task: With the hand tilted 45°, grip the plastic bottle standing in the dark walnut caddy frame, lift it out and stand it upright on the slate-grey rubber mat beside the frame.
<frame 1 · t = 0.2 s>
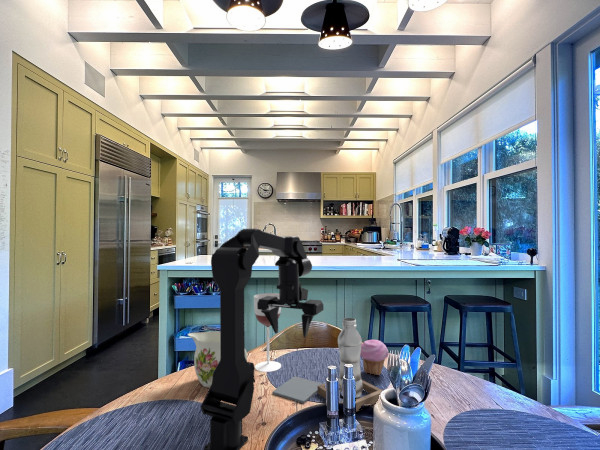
hand: (290, 335, 89), 14 cm above the table, tool pointing down, fingers open, 9 cm apart
caddy frame: (350, 396, 82), on the table
cupcake: (374, 373, 96), on the table
slate mat: (298, 389, 86), on the table
pitcher: (217, 383, 91), on the table
wineglass: (268, 366, 102), on the table
plastic bottle: (350, 397, 82), resting in caddy frame
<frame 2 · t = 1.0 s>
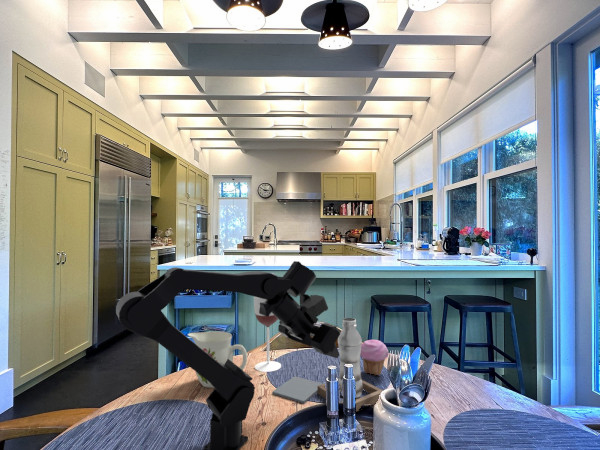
hand: (325, 350, 78), 13 cm above the table, tool tilted 45°, fingers open, 9 cm apart
nothing on the table moved.
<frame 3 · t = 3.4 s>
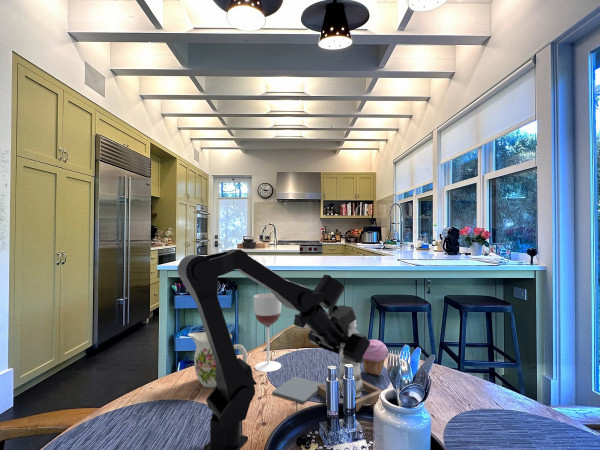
hand: (353, 358, 83), 10 cm above the table, tool tilted 45°, fingers closed on plastic bottle, 6 cm apart
plastic bottle: (350, 397, 82), resting in caddy frame, touching gripper
everything else where it was.
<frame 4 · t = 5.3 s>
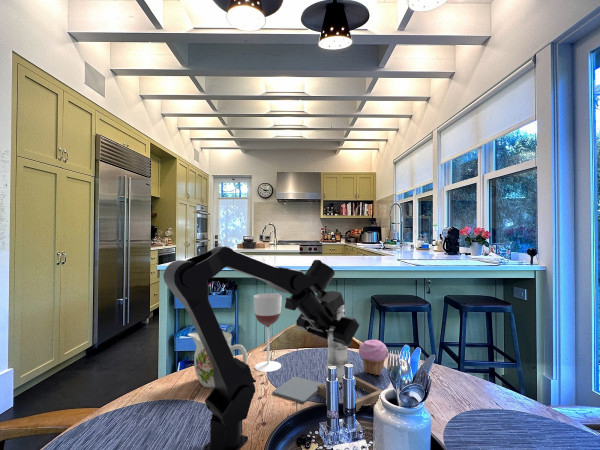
hand: (341, 342, 85), 13 cm above the table, tool tilted 45°, fingers closed on plastic bottle, 6 cm apart
plastic bottle: (338, 380, 83), point 3 cm above the table, touching gripper
everything else where it was.
when the fingers open (11 cm above the table, at t = 7.3 s): plastic bottle drops 1 cm, resting on slate mat.
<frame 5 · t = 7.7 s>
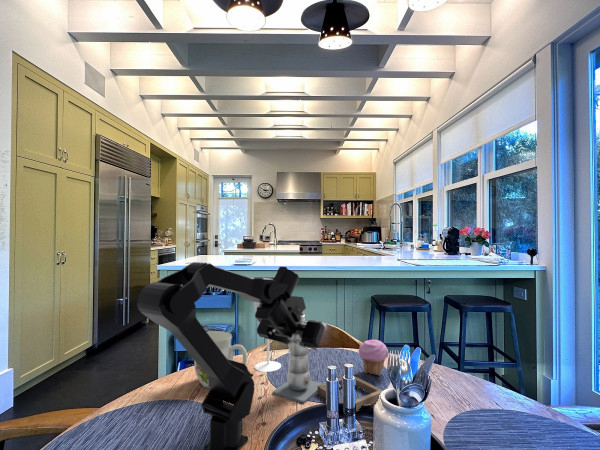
hand: (301, 345, 88), 12 cm above the table, tool tilted 45°, fingers open, 9 cm apart
plastic bottle: (298, 388, 86), resting on slate mat
everything else where it was.
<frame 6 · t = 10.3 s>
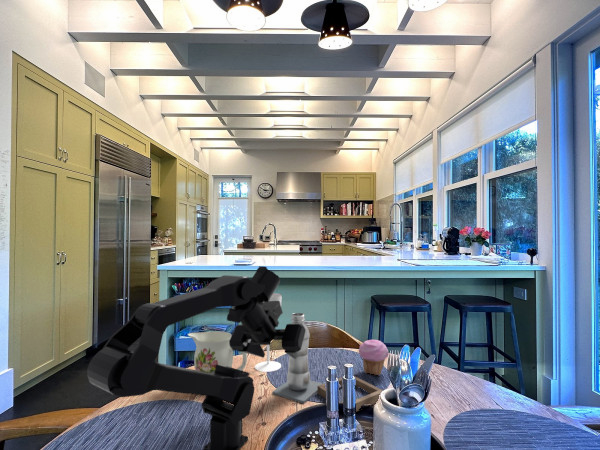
hand: (279, 356, 79), 12 cm above the table, tool tilted 40°, fingers open, 9 cm apart
nothing on the table moved.
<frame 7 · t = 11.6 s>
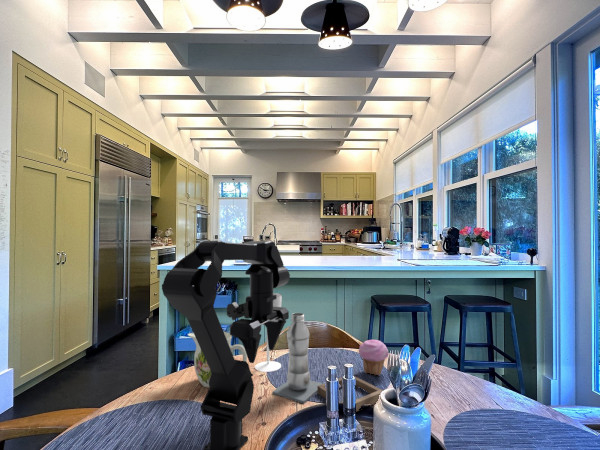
hand: (261, 355, 76), 13 cm above the table, tool pointing down, fingers open, 9 cm apart
nothing on the table moved.
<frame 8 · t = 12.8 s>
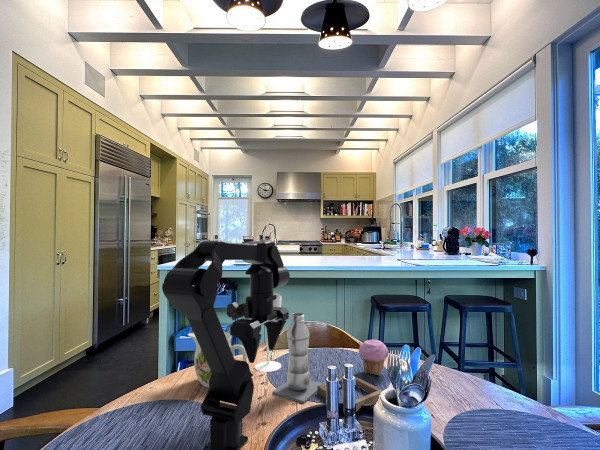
hand: (261, 355, 76), 13 cm above the table, tool pointing down, fingers open, 9 cm apart
nothing on the table moved.
at the end: plastic bottle inside the target area on the slate mat (0.1 cm from its centre), point 0.4 cm above the slate mat's base; plastic bottle tilted 0°; the gripper is holding nothing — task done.
